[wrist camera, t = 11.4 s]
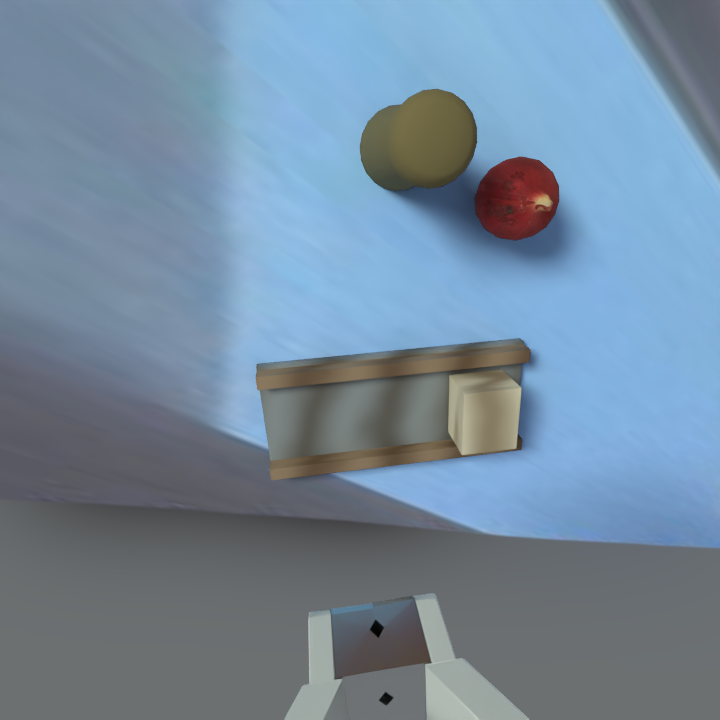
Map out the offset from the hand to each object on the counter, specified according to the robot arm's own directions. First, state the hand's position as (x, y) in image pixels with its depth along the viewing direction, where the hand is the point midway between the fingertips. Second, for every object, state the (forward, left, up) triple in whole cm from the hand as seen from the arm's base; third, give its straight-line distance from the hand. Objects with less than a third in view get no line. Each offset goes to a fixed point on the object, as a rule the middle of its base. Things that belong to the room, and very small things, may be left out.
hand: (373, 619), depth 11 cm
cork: (-7, -11, -31) cm, 33 cm away
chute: (-6, +11, -30) cm, 33 cm away
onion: (-15, -7, -31) cm, 35 cm away
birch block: (-14, +11, -30) cm, 35 cm away
